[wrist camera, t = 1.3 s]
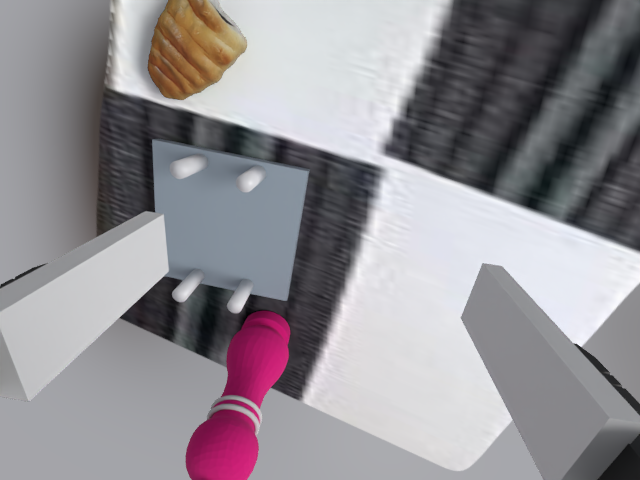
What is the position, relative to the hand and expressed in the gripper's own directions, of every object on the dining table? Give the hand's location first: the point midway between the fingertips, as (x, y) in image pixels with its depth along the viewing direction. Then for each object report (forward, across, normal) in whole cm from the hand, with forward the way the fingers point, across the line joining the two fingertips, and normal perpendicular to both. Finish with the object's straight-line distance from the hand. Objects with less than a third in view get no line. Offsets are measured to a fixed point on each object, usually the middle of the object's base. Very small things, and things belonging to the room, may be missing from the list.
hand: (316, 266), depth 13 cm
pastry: (+21, -14, +9) cm, 27 cm away
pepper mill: (+21, -6, -22) cm, 31 cm away
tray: (+21, -11, -8) cm, 25 cm away
